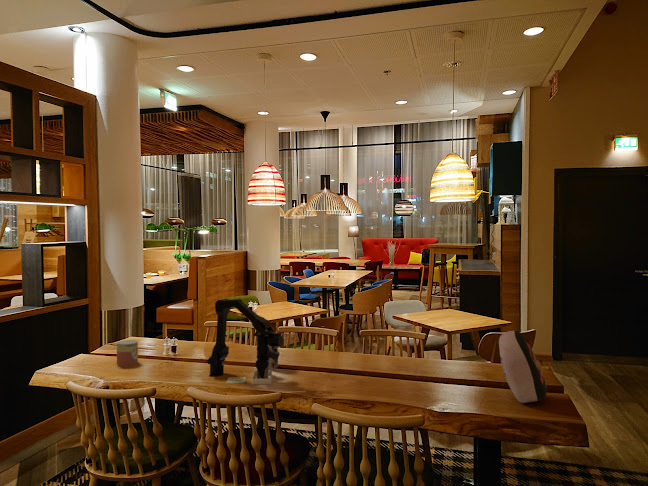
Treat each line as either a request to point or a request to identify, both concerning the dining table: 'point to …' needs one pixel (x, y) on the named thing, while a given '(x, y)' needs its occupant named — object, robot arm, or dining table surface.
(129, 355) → the canned food
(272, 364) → the coffee box
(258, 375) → the walnut box
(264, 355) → the robot arm
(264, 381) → the carton
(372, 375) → the dining table surface
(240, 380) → the sage mat
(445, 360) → the dining table surface
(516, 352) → the packaged food
